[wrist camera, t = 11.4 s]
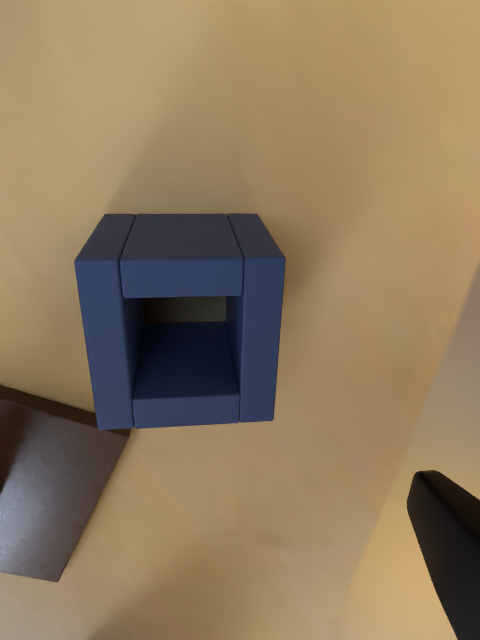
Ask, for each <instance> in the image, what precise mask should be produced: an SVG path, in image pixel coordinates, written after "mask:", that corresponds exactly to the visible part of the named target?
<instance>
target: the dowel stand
mask: <svg viewBox="0 0 480 640" xmlns="http://www.w3.org/2000/svg"><path fill="white" fill-rule="evenodd" d="M130 430H131V428H125V429H107V430H100V429H98V426H97V419H96V414H93V413H89V412H86V411H83V410H79V409H76V408H73V407H69V406H66V405H62V404H59V403H56V402H52V401H49V400H46V399H42V398H39V397H36V396H32V395H29V394H26V393H22V392H19V391H16V390H12V389H9V388H6V387H2V386H0V572H3V573H9V574H14V575H20V576H25V577H31V578H36V579H42V580H47V581H52V582H58V581H59V579H60V577H61V575H62V573H63V571H64V569H65V567H66V565H67V563H68V561H69V559H70V557H71V555H72V553H73V551H74V549H75V547H76V545H77V543H78V541H79V539H80V537H81V534H82V532H83V530H84V528H85V526H86V524H87V522H88V520H89V518H90V516H91V514H92V512H93V510H94V508H95V506H96V504H97V502H98V500H99V498H100V496H101V494H102V492H103V490H104V488H105V486H106V484H107V481H108V479H109V477H110V475H111V473H112V471H113V469H114V467H115V465H116V463H117V461H118V459H119V457H120V455H121V453H122V451H123V449H124V447H125V445H126V443H127V441H128V439H129V436H130Z"/></svg>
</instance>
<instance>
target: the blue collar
mask: <svg viewBox="0 0 480 640" xmlns="http://www.w3.org/2000/svg"><path fill="white" fill-rule="evenodd" d="M285 261H286V259H285V257H284V255H283V253H282V252H281V250H280V249H279V247H278V246H277V244H276V243H275V241H274V240H273V238H272V237H271V235H270V233H269V232H268V230H267V229H266V227H265V226H264V224H263V223H262V221H261V220H260V218H259V216H258V215H257V214H228V215H226V214H138V215H136V216H135V215H134V214H105V215H104V216H103V217H102V219H101V221H100V222H99V224H98V225H97V227H96V228H95V230H94V231H93V233H92V234H91V236H90V237H89V239H88V241H87V242H86V244H85V245H84V247H83V248H82V250H81V251H80V253H79V254H78V256H77V257H76V259H75V262H74V264H75V271H76V279H77V286H78V293H79V300H80V307H81V314H82V321H83V328H84V335H85V342H86V349H87V356H88V363H89V370H90V377H91V384H92V391H93V398H94V405H95V412H96V419H97V426H98V429H100V430H107V429H125V428H133V427H134V425H135V428H136V429H138V428H156V427H174V426H193V425H211V424H229V423H239V421H240V422H241V423H243V422H261V421H273V419H274V408H275V394H276V381H277V368H278V354H279V341H280V328H281V314H282V301H283V288H284V274H285ZM200 296H226V322H191V323H156V324H144V318H143V304H142V298H153V297H200Z"/></svg>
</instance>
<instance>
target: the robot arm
mask: <svg viewBox="0 0 480 640" xmlns="http://www.w3.org/2000/svg"><path fill="white" fill-rule="evenodd" d="M407 510H408V514H409V517H410V520H411V523H412V526H413V529H414V531H415V534H416V537H417V540H418V543H419V545H420V548H421V551H422V554H423V557H424V560H425V563H426V565H427V568H428V571H429V574H430V577H431V580H432V582H433V585H434V588H435V590H436V593H437V595H438V597H439V600H440V602H441V604H442V606H443V609H444V611H445V613H446V615H447V617H448V620H449V622H450V624H451V626H452V628H453V630H454V632H455V634H456V637H457V639H458V640H480V500H479V499H477V498H476V497H475V496H473V495H472V494H470V493H469V492H467V491H466V490H465V489H463V488H462V487H460V486H459V485H457V484H456V483H454V482H453V481H452V480H450V479H449V478H447V477H446V476H445V475H443V474H442V473H440V472H438V471H435V470H430V471H418V472H416V473H415V475H414V477H413V480H412V484H411V488H410V491H409V495H408V499H407Z"/></svg>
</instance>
